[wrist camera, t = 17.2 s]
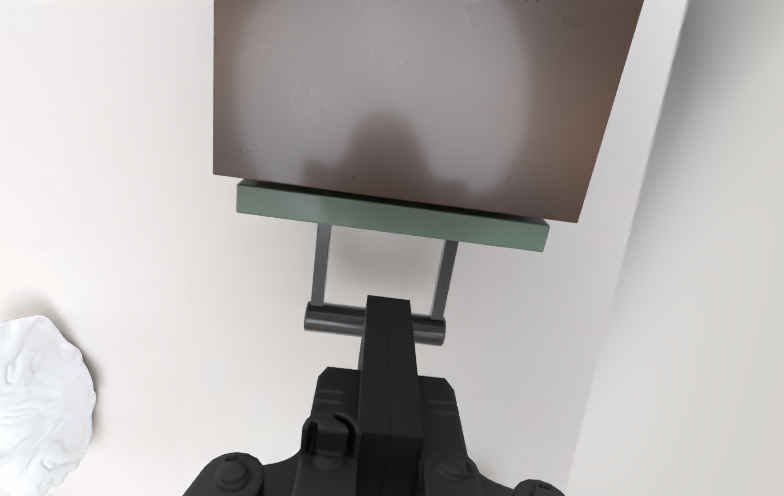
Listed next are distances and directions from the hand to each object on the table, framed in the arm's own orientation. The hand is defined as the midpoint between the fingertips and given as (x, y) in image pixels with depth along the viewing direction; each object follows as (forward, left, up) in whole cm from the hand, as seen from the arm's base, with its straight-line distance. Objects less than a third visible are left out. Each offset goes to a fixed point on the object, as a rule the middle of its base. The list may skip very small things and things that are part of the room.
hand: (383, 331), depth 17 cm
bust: (-14, +21, -13) cm, 28 cm away
